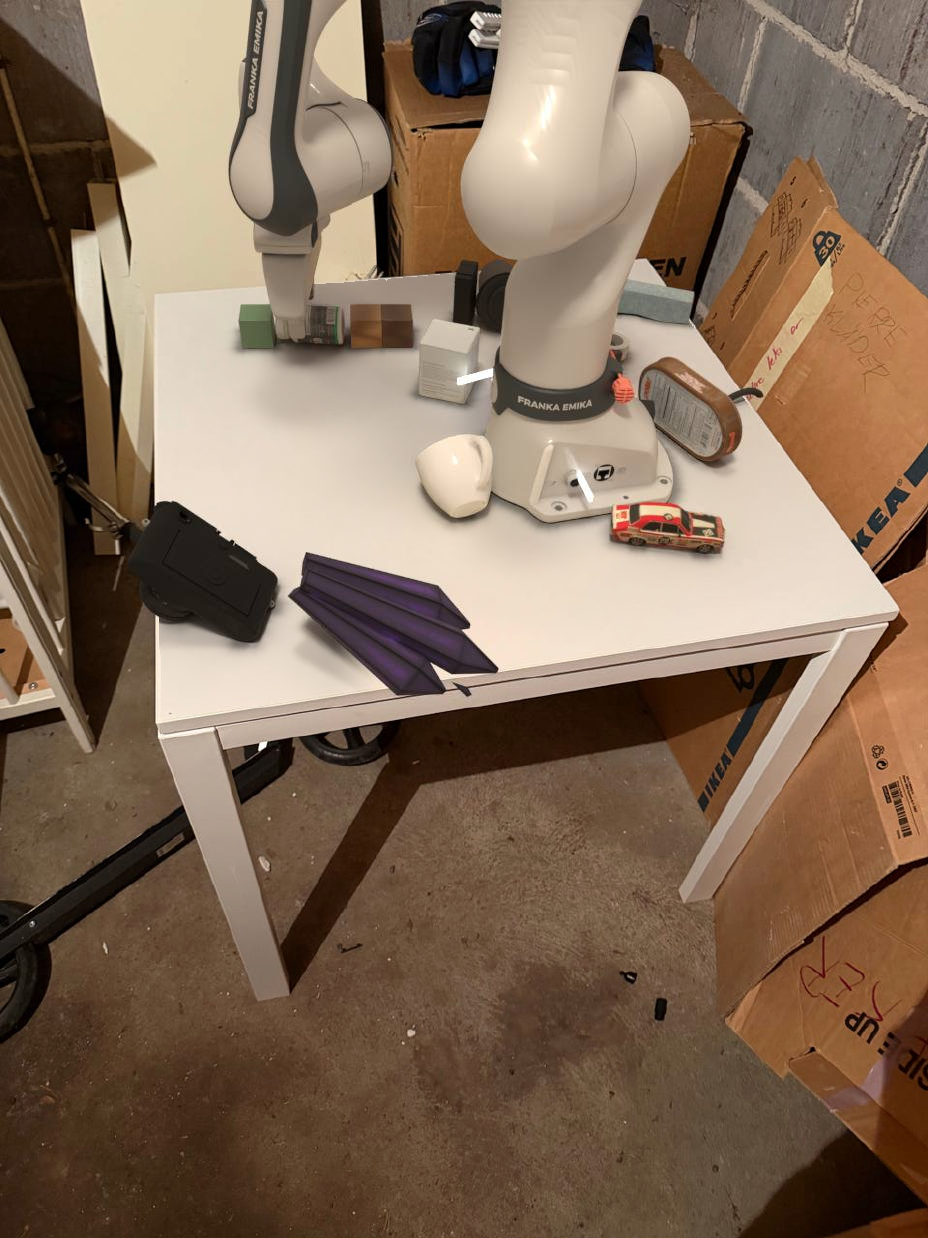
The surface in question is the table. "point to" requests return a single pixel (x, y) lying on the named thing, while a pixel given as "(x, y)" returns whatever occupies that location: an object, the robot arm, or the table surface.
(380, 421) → the table surface
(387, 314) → the block walnut
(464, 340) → the product box
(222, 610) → the camera
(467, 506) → the cup
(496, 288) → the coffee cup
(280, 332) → the pill bottle
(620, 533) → the race car
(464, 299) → the ink cartridge
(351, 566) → the crystal
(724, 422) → the tin
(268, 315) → the block sage
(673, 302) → the light blue foam bar
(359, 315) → the block beech
